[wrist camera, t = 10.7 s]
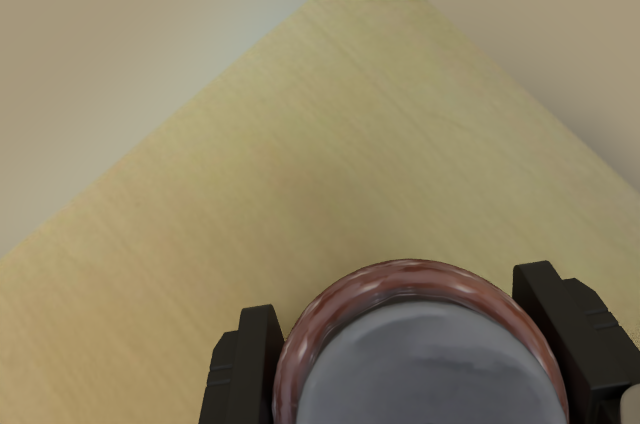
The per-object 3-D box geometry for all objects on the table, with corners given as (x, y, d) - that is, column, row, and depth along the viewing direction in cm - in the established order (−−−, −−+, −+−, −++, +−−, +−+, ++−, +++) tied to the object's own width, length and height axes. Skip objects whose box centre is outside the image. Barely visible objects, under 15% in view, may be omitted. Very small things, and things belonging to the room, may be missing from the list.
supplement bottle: (305, 298, 19) (203, 268, 8) (459, 268, 18) (574, 192, 8) (335, 464, 18) (260, 707, 7) (501, 435, 17) (722, 644, 6)
